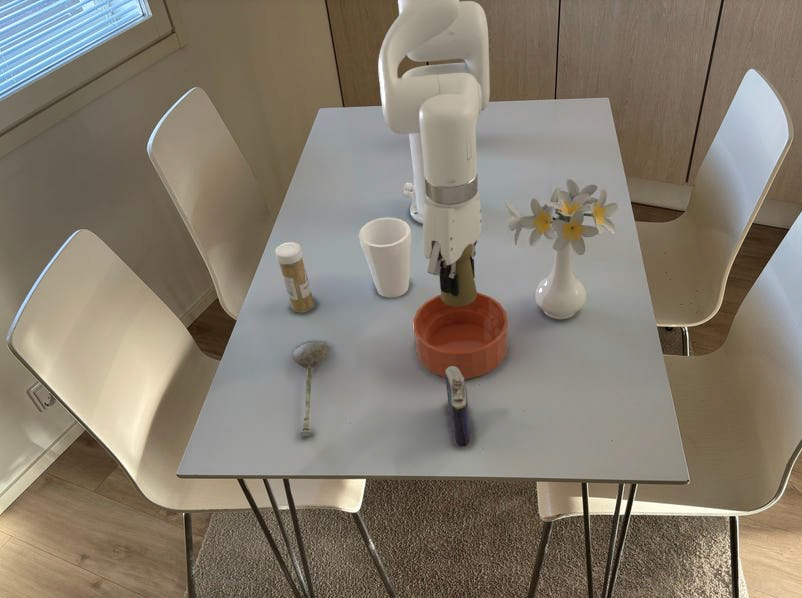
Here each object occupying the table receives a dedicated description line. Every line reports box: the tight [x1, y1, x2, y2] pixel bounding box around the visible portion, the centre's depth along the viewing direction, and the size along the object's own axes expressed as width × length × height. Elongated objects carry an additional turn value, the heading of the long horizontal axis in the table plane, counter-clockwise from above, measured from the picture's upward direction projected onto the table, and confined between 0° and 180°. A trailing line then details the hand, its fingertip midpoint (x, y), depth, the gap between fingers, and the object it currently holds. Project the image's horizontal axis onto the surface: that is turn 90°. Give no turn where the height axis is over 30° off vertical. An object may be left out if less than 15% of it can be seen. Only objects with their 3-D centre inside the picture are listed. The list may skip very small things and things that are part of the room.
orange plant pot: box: [412, 291, 509, 379], centre depth 120 cm, size 16×16×6 cm
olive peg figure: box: [440, 244, 478, 307], centre depth 110 cm, size 6×6×11 cm
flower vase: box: [505, 178, 619, 320], centre depth 119 cm, size 13×18×25 cm
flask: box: [444, 366, 472, 448], centre depth 106 cm, size 9×3×11 cm, turn 8°
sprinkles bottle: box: [275, 241, 315, 314], centre depth 129 cm, size 5×5×14 cm
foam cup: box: [358, 216, 412, 299], centre depth 131 cm, size 10×9×13 cm
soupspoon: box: [291, 341, 330, 437], centre depth 117 cm, size 22×3×7 cm
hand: (457, 284), depth 112 cm, fingers closed on olive peg figure, 4 cm apart
